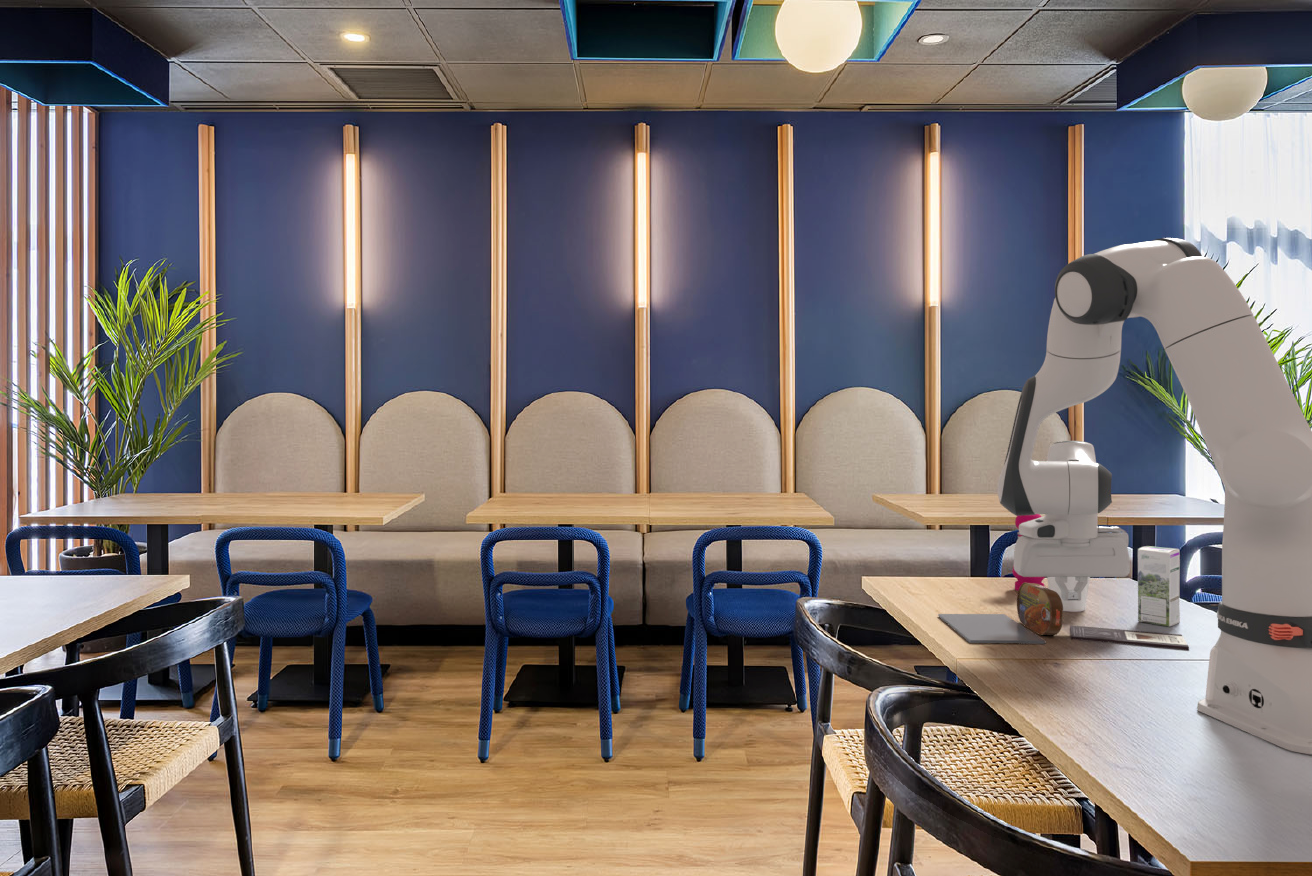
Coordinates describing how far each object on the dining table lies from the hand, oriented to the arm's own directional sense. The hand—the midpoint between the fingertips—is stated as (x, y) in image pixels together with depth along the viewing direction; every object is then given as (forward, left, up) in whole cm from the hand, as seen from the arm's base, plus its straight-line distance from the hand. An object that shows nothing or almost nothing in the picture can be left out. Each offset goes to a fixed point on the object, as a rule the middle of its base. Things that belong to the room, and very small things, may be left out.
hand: (1071, 600), depth 155 cm
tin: (0, +6, -6) cm, 8 cm away
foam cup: (+18, -7, -6) cm, 20 cm away
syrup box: (+6, -19, -6) cm, 21 cm away
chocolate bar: (-6, -7, -6) cm, 11 cm away
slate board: (0, +15, -6) cm, 16 cm away
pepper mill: (+36, -6, -6) cm, 37 cm away
